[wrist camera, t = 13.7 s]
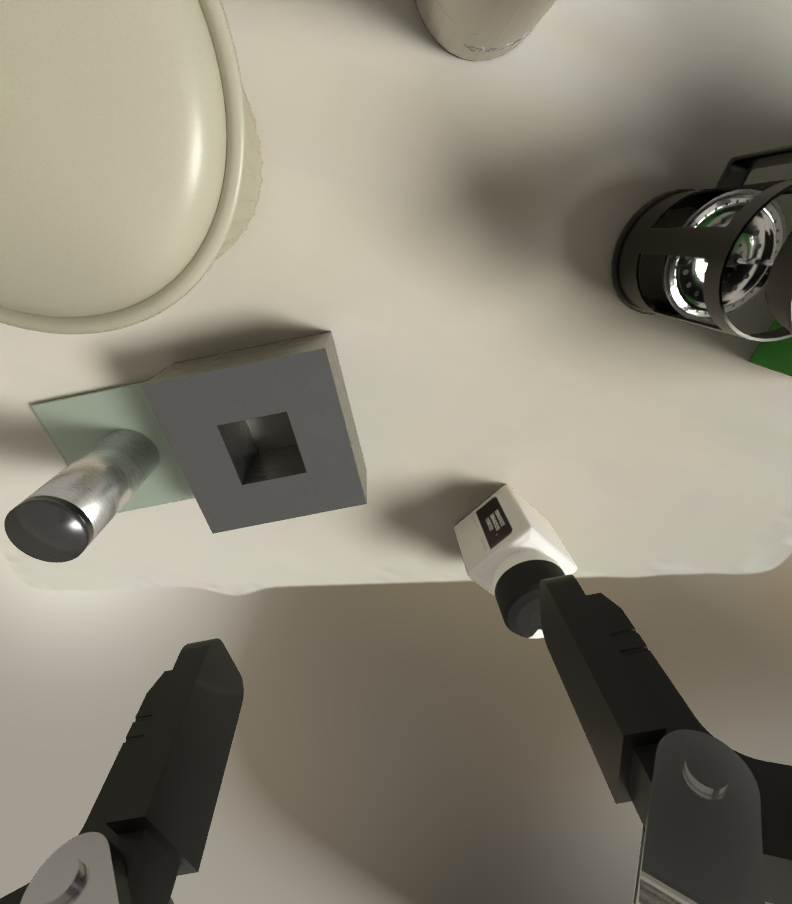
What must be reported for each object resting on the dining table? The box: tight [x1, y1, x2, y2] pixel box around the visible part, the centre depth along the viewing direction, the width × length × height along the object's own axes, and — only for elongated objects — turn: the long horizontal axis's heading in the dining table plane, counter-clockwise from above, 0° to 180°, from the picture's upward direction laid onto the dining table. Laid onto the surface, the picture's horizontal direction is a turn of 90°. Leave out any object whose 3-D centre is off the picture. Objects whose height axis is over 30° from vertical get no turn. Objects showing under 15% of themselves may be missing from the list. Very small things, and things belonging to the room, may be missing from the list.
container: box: [454, 485, 577, 638], centre depth 41 cm, size 8×8×13 cm
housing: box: [141, 331, 367, 533], centre depth 37 cm, size 14×14×6 cm
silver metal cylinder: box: [4, 429, 160, 562], centre depth 34 cm, size 5×5×12 cm
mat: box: [31, 381, 195, 513], centre depth 40 cm, size 12×12×1 cm
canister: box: [0, 0, 263, 334], centre depth 21 cm, size 18×18×21 cm
